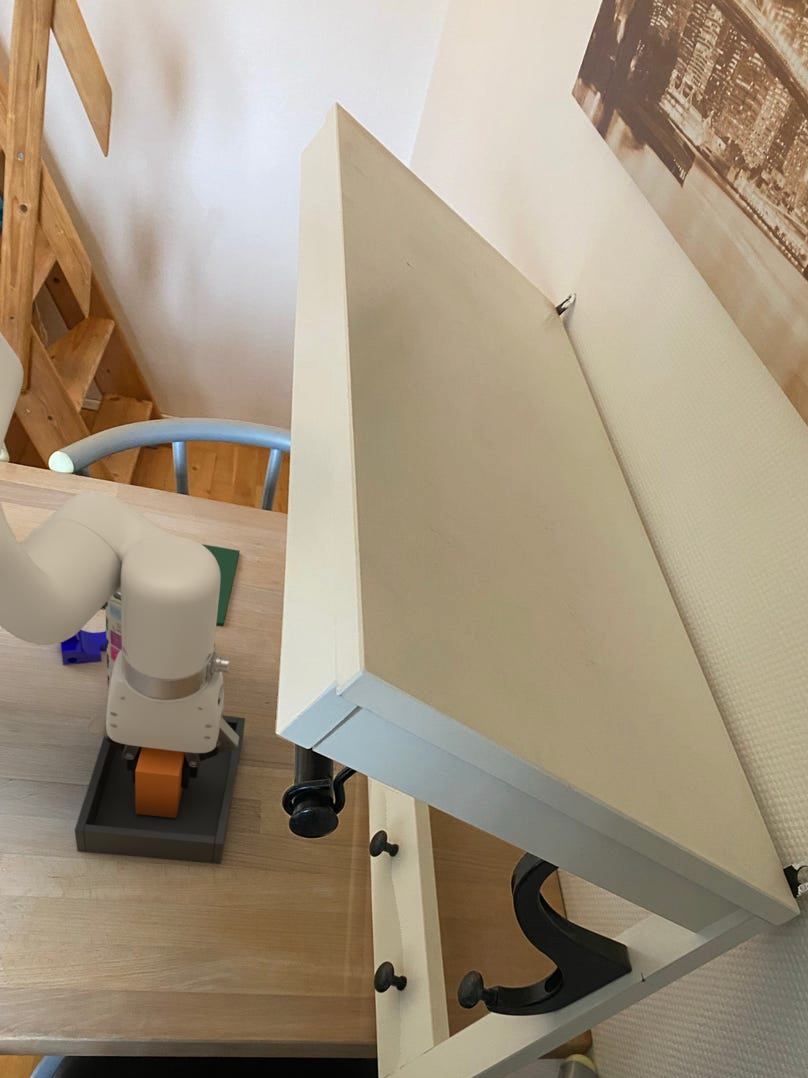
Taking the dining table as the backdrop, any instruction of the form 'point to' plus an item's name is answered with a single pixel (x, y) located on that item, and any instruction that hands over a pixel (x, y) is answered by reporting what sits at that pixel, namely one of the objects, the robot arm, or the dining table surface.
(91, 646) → the cable holder
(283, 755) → the dining table surface
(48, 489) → the dining table surface
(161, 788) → the orange block
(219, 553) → the mat
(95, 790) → the bin
